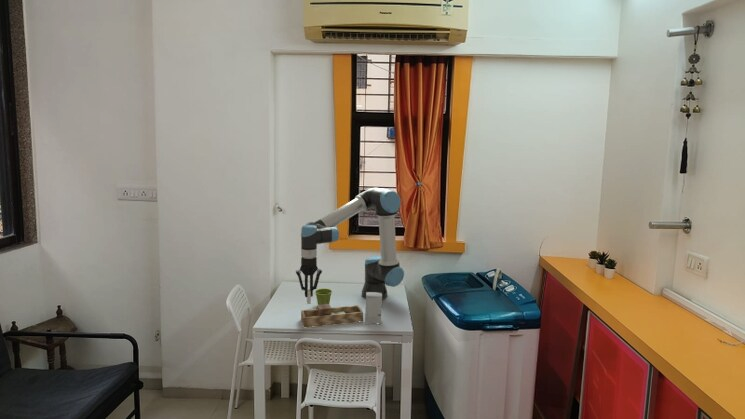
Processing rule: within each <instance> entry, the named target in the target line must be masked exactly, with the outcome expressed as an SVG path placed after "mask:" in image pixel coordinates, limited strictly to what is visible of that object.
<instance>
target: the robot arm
mask: <svg viewBox="0 0 745 419" xmlns="http://www.w3.org/2000/svg"><path fill="white" fill-rule="evenodd" d="M401 200H402V199H401V197H400V195H399V194H398V193H397V192H396V191H394V190H392V189H387V188H380V187H372V188H369V189H366V190H365V191H362V192H360V193H359V194H357V195H355V197H354V199H352V200H351V201H349V202H347V203H345V204H344V205H342V206H340V207H338V208H337V209H335V210H333V211H331V212H330V213H328V214H326V215H324V216H323V217H322V218H320V219H318V220H316V221H314V222H313V221H309V222H307V223H306V224H305V225H303V226H302V227H301V232H300V237H301V238H300V240H301V241H300V244H301V245H300V247H301V249H300V251H301V252H300V256H301V257H300V268H299V269H298V270H295V274H296V275H297V278H298V281H299V285H300V288H301V291H304V297H305V298H306V304H307V305H310V304H311V298H312V297H313V296H314V292H313V291H315V290H318V284H319V280H320V277H321V275H322V273H323V270H322V269H321V268H318V265H317V259H318V257H317V256H318V255H317V254H318V251H317V250H318V245H321V244H329V243H331V244H333V243H334V242H337V241H339V238H340V231H339V229H338V228H337V227H336V226H338V225H340V224H341V223H343V222H345V221H347V220H348V219H351V218H352V217H353V216H355V215H357V214H359V213H360V212H365V211H368V210H370V209H374V210H375V215H376V216H377V217H378V226H379V227H378V230H379V246H380V255H379V256H378V255H377V256H370V257H366V259H365V261H364V284H363V286H362V289H361V297H363V298H364V299H366V292H376V293H382V300H383V299H385V298H387V297H388V288H387V287H386V286H388V287H392V288H394V287H398V286H399V285H400V284H401V283H402V281H403V280H404V276H405V271H404V269H403V268H402V267H401V266H400V259H398V257H397V243H396V242H397V240H396V224H395V223H396V222H395V217H396V216H397V215H398V211H399V209H400V207H401V202H402V201H401ZM315 273H316V275H315ZM301 274H303V275H304V284H303V280H302V275H301ZM314 275H315V279H314ZM308 279H309V280H308ZM308 283H309V284H308Z"/></svg>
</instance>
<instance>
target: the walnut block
mask: <svg viewBox="0 0 745 419" xmlns="http://www.w3.org/2000/svg"><path fill="white" fill-rule="evenodd" d="M331 308H332V307H331V305H330V303H329V304H322V305H318V304H317V308H316V309H317V314H318V316H323V315H331Z"/></svg>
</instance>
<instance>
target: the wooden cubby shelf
mask: <svg viewBox="0 0 745 419" xmlns="http://www.w3.org/2000/svg"><path fill="white" fill-rule="evenodd" d="M300 317H301V324H302V323H303V324H302V327H303V326H304V327H307V328H313V327H312V326H317V327H325V325H327V326H334V325H333V324H337V325H343V324H342V323H347V324H352V323H351V322H357V323H360V322H359V321H363V322H364V311H363V310H362V308H361V307H360V305H359V304H357V305H347V306H346V305H345V306H336V307H331V315H323V316H318V314H317V308H314V309H313V308H311V309H304V310H301V309H300ZM323 325H324V326H323ZM304 327H303V328H304Z"/></svg>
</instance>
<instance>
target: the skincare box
mask: <svg viewBox="0 0 745 419" xmlns="http://www.w3.org/2000/svg"><path fill="white" fill-rule="evenodd" d="M382 303H383V299H382V293H376V292H366V298H365V311H364V312H365V313H364V324H365V323H379V324H378V325H381V323H382V321H381V320H382V306H383V304H382Z"/></svg>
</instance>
